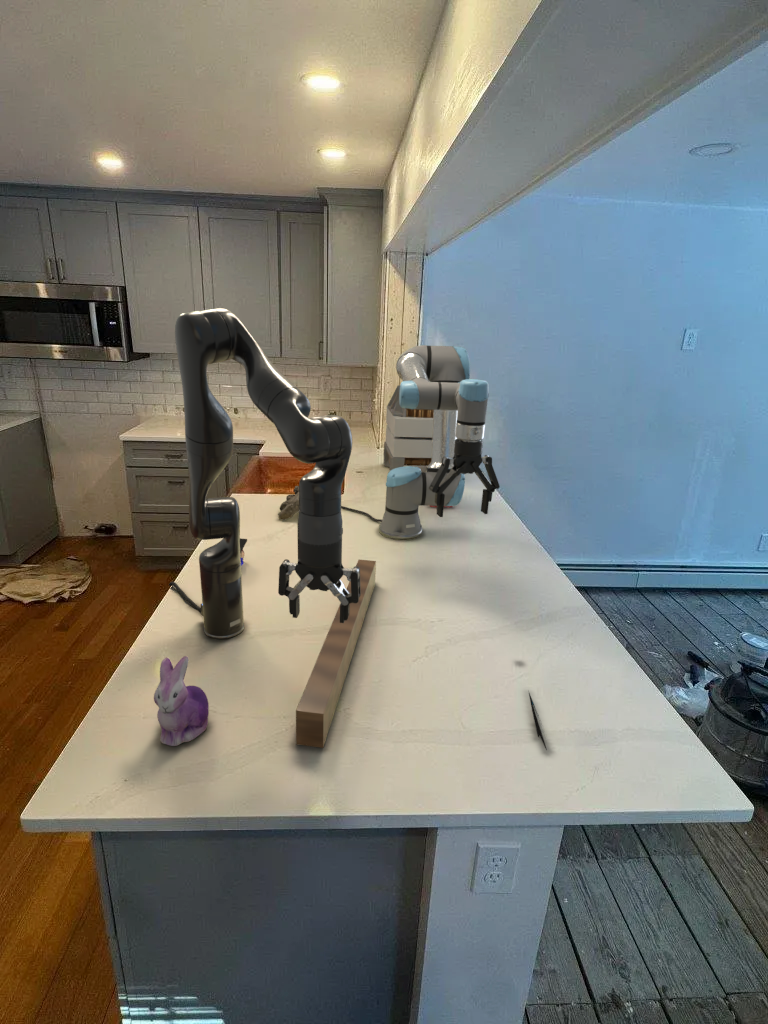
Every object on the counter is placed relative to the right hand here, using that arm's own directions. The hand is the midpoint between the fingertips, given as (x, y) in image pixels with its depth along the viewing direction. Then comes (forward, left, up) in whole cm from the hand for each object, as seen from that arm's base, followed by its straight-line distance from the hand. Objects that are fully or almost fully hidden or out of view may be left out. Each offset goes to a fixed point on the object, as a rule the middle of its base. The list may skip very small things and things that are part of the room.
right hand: (462, 514), depth 158 cm
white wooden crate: (-91, +73, -22) cm, 119 cm away
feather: (+46, -27, -22) cm, 58 cm away
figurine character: (-45, -48, -22) cm, 69 cm away
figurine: (+11, -85, -22) cm, 89 cm away
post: (+7, -45, -22) cm, 51 cm away
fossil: (-77, -5, -22) cm, 80 cm away
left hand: (+23, -64, 0) cm, 68 cm away
